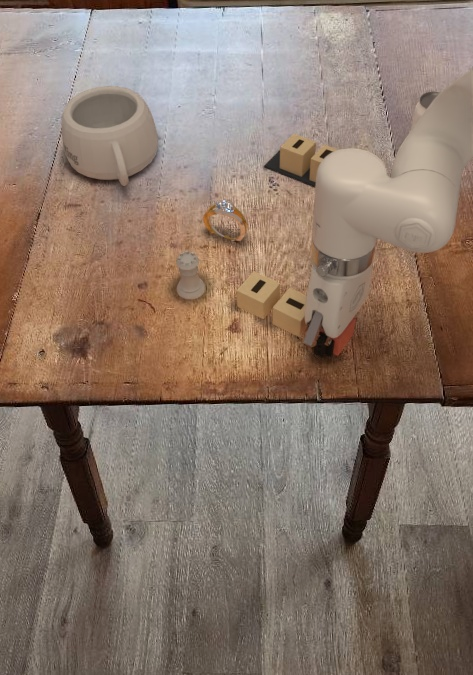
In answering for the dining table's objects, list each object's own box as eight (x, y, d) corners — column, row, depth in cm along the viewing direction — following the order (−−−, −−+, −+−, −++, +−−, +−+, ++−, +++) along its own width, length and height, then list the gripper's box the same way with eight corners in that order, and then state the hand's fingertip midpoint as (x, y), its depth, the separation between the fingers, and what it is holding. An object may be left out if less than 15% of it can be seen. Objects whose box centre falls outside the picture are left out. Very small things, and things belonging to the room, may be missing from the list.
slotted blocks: (359, 338, 95) (363, 316, 91) (339, 368, 92) (342, 346, 89) (241, 282, 103) (240, 259, 99) (219, 308, 100) (217, 285, 96)
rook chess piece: (195, 279, 103) (191, 241, 97) (212, 296, 101) (209, 258, 95) (171, 292, 102) (165, 254, 96) (187, 310, 100) (182, 273, 93)
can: (437, 149, 121) (451, 88, 112) (446, 172, 117) (462, 111, 108) (401, 151, 121) (412, 90, 111) (409, 174, 117) (422, 113, 108)
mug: (61, 139, 126) (47, 91, 119) (148, 120, 129) (141, 72, 121) (80, 212, 114) (66, 163, 106) (176, 190, 116) (170, 141, 109)
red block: (352, 338, 95) (356, 317, 91) (337, 360, 93) (340, 339, 89) (324, 325, 97) (327, 303, 93) (308, 346, 94) (310, 325, 91)
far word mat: (382, 187, 115) (386, 163, 111) (365, 207, 112) (369, 183, 108) (281, 149, 122) (282, 125, 119) (263, 167, 120) (263, 143, 116)
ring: (250, 242, 108) (249, 204, 102) (240, 255, 106) (238, 217, 100) (212, 228, 110) (209, 190, 104) (202, 241, 109) (198, 202, 102)
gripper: (335, 307, 75) (324, 397, 89) (402, 218, 83) (382, 314, 98) (277, 280, 78) (275, 372, 92) (348, 197, 86) (336, 293, 100)
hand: (330, 341), depth 95 cm, fingers closed on red block, 4 cm apart
